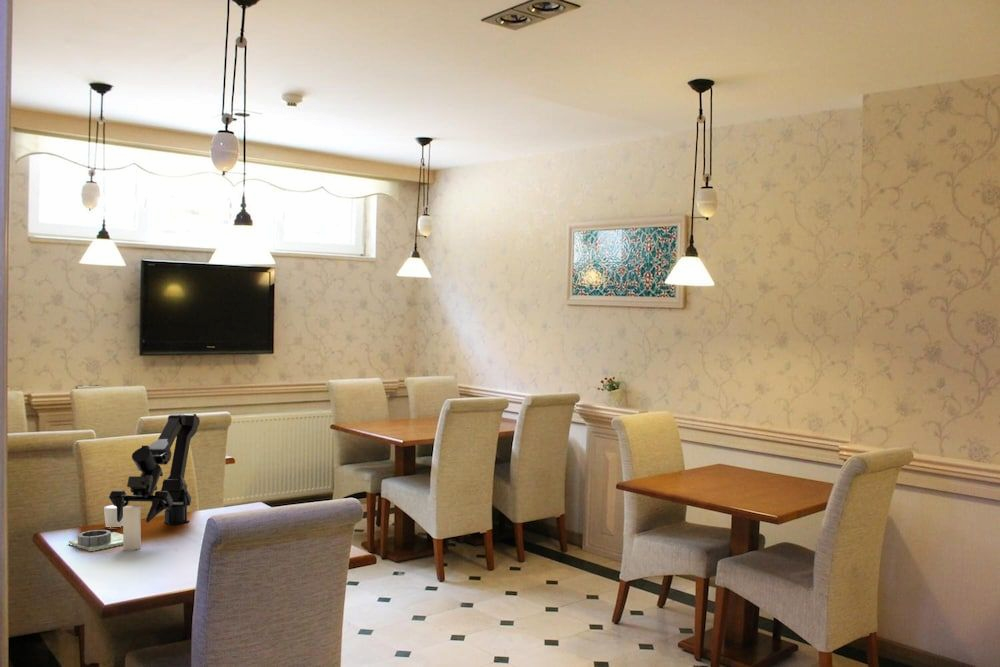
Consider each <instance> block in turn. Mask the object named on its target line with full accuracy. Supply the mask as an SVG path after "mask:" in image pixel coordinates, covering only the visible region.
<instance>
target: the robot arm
mask: <svg viewBox="0 0 1000 667" xmlns="http://www.w3.org/2000/svg"><path fill="white" fill-rule="evenodd" d="M200 422H201V420H200V416H198V415H197V414H196V413H171V414H169V415H168V417H167V421H166V424H165V426H164V428H162V429H163V430H162V431H161V433H160V435H159V437H158V439H157V440H156V441H154V442H152V443H151V444H149V445H146V444H145V445H143V444H142V445H141V447H140V448H138V449H136V450H135V451H134V452H132V455H131V459H132V461H133V462H134V464H135V466H136V468H137V469H138V471H139V472H141V473H140V475H139V476H130V475H129V476H128V479H127V483H126V487H127V488H130V493H132V494H127V493H126V491H125V490H119V489H117V490H112V491H111V492H109V495H108V498H109V500H110V501H111V503H112V505H114V506H116V507H117V521H118V522H120V521H121V519H122V517H123V507H125V506H129V502H141V503H142V502H143V503H151V505H150V508H149V511H148V514H147V516H146V519H145V522H146V523H149V522H151V521H152V520H153V519H154V518H155V517H156V516H157V515H159V514H160V513H161V512H162V511H164V520H163V522H165V523H164V524H167V523H168V525H170V524H172V525H171V526H175V525H174V524H177V525H180V524H179V523H181V524H185V523H184V522H186V523H189V522H190V519H188V515H187V514H188V506H191V503H192V496H191V495H190V493H189V491H188V484H187V482H186V480H185V474H186V468H187V462H188V458H189V450H190V444H191V439H192V438H193V437H194V436H195V435H196V433H197V432H198V427H199V425H200ZM174 442H175V443H174ZM173 444H175V446H174V450H173V452H172V450H171V448H172V446H173ZM172 454H173V456H172ZM171 458H172V462H171V467H170V472H169V476H168V477H167V478H166V479H163V481H162V484H161V485H162V486H161V490H158V486H157V484H158V481H159V479H160V477H163V476H164V473H163V470H162V467H161V465H163V466H164V465H168V464H169V462H170V461H171ZM153 494H154V495H153Z"/></svg>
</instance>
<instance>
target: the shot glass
mask: <svg viewBox="0 0 1000 667" xmlns="http://www.w3.org/2000/svg"><path fill="white" fill-rule="evenodd" d="M103 513H104V522H105V523H104V524H105V528H106V527H110V528H109V529H112V528H111V527H120V528H122V527H121V526H123V517H122V519H121V521H120V522H118V521H117V507H116V506H114V505H113V504H109V505H105V506H104V507H103Z"/></svg>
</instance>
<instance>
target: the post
mask: <svg viewBox="0 0 1000 667" xmlns="http://www.w3.org/2000/svg"><path fill="white" fill-rule="evenodd" d="M141 514H142V513H141V505H139V504H138V505H136V504H133V505H131V504H130V505H127V506H125V507H123V527H122V532H123V533H122V534H123V545H122V546H123V547H122V548H123V549H124V551H128V550H130V551H136V550H135V549H137V550H139V548H140V547H141V548H142V544H141V540H142V539H141V538H142V535H141V532H142V531H141V528H142V527H141V525H142V523H141V518H142V517H141ZM141 548H140V549H141Z"/></svg>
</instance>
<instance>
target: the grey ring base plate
mask: <svg viewBox="0 0 1000 667" xmlns="http://www.w3.org/2000/svg"><path fill="white" fill-rule="evenodd" d="M69 543H70V544H72V545H75V546H77V547H76V548H78V547H80V548H79V549H81V548H83V549H82V550H84V549H86V550H88V551H87V552H89V551H93V552H96V551H95V550H98V551H100V550H99V549H102V550H105V549H104V548H107V549H110V548H109V547H111V548H114V547H113V546H116V547H120V546H123V545H122V544H123V533H119V532H116V531H112V532H111V530H108V529H93V530H92V529H91V530H87V531H83V532H80V533H78V534H77V539H74V540H69V541H68V544H69ZM72 545H71V546H72ZM119 545H120V546H119ZM75 546H74V547H75ZM86 550H85V551H86Z"/></svg>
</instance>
